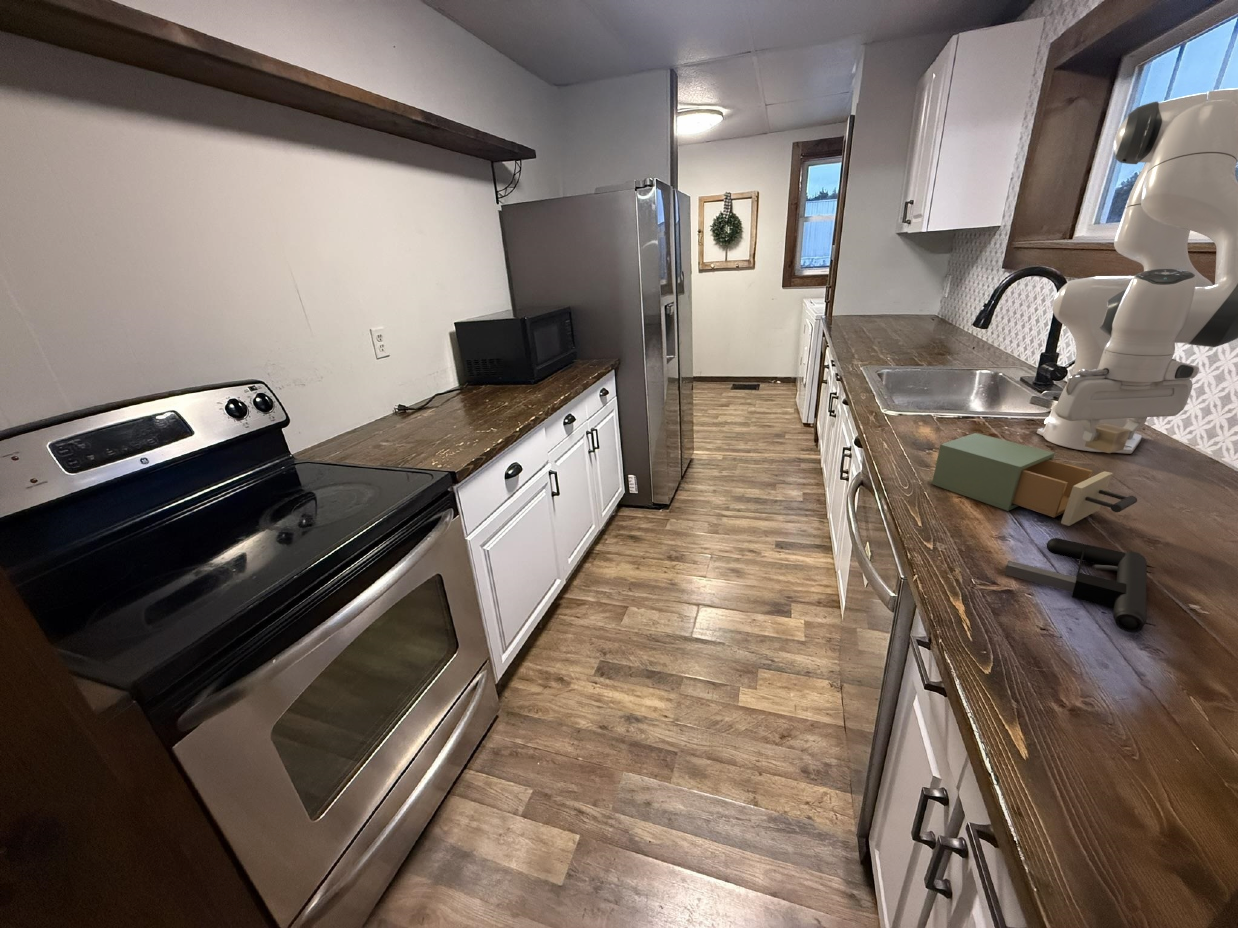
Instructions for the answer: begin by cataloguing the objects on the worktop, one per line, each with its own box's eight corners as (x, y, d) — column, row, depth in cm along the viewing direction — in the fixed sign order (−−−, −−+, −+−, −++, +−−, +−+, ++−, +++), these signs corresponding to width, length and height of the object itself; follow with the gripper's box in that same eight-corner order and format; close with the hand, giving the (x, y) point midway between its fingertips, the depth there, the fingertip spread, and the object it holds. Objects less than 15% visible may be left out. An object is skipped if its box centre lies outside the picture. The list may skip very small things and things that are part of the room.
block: (1098, 442, 97) (1105, 423, 96) (1123, 449, 94) (1130, 429, 92) (1084, 446, 96) (1091, 426, 95) (1108, 453, 93) (1116, 433, 91)
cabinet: (1042, 494, 99) (1055, 452, 96) (1007, 511, 94) (1020, 467, 91) (966, 471, 111) (975, 432, 108) (931, 484, 106) (940, 444, 103)
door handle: (1000, 577, 72) (1162, 622, 61) (1023, 525, 85) (1159, 553, 74) (996, 597, 73) (1154, 644, 62) (1019, 542, 86) (1153, 573, 75)
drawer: (1134, 520, 87) (1150, 482, 84) (1104, 538, 82) (1119, 499, 80) (1016, 483, 102) (1026, 450, 100) (985, 497, 98) (994, 463, 95)
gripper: (1086, 374, 86) (1063, 448, 92) (1210, 368, 85) (1179, 442, 91) (1058, 366, 92) (1037, 436, 98) (1173, 360, 91) (1146, 431, 97)
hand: (1106, 439), depth 94 cm, fingers closed on block, 5 cm apart
